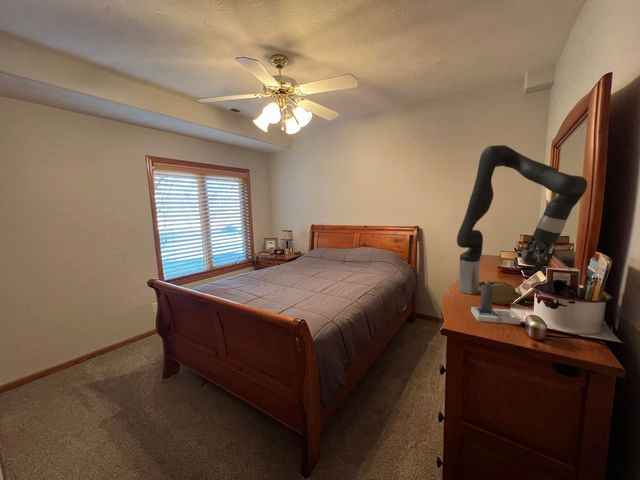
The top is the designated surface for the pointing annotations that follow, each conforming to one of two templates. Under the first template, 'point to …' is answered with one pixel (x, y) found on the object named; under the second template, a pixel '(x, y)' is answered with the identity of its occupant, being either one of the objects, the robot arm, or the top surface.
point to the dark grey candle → (486, 298)
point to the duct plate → (496, 316)
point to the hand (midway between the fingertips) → (531, 266)
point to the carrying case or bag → (490, 283)
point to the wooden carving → (504, 293)
